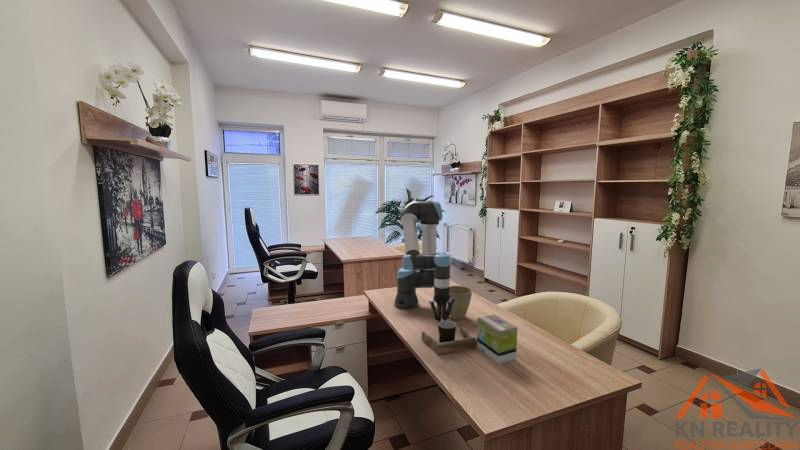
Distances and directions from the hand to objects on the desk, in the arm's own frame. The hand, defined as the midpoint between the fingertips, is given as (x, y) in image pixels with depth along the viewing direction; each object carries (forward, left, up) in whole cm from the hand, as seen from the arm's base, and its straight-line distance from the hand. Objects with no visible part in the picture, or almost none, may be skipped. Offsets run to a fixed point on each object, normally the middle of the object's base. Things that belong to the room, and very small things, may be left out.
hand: (441, 332), depth 156 cm
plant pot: (-18, +19, -2) cm, 26 cm away
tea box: (+23, +15, -2) cm, 28 cm away
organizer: (+8, 0, -2) cm, 8 cm away
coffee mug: (+8, -1, -2) cm, 8 cm away
